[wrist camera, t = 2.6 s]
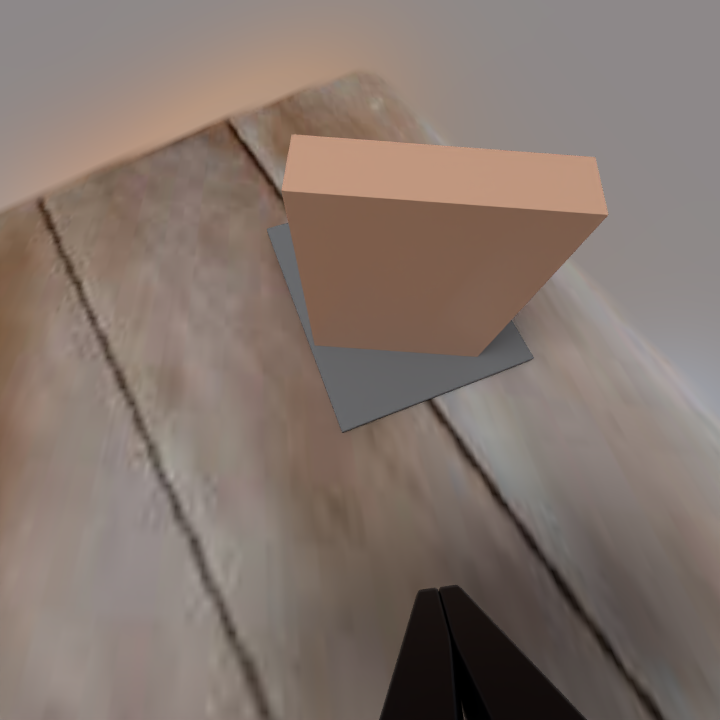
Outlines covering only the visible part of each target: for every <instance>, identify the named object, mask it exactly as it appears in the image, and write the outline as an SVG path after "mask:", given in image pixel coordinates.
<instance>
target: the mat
mask: <svg viewBox="0 0 720 720" xmlns="http://www.w3.org/2000/svg"><path fill="white" fill-rule="evenodd" d="M267 232H268V235H269V237H270V240H271V243H272V245H273V248H274V251H275V253H276V256H277V259H278V261H279V264H280V267H281V269H282V272H283V275H284V277H285V280H286V283H287V286H288V288H289V291H290V294H291V296H292V299H293V302H294V304H295V307H296V310H297V312H298V315H299V318H300V320H301V323H302V326H303V329H304V331H305V334H306V337H307V339H308V342H309V345H310V347H311V350H312V353H313V355H314V358H315V361H316V363H317V366H318V369H319V371H320V374H321V377H322V380H323V382H324V385H325V388H326V390H327V393H328V396H329V398H330V401H331V404H332V406H333V409H334V412H335V414H336V417H337V420H338V423H339V425H340V428H341V431H342V433H343V432H346V431H349V430H351V429H354V428H356V427H359V426H361V425H364V424H367V423H369V422H372V421H374V420H377V419H380V418H382V417H385V416H387V415H390V414H393V413H395V412H398V411H400V410H403V409H405V408H408V407H411V406H413V405H416V404H418V403H421V402H424V401H426V400H429V399H431V398H434V397H437V396H439V395H442V394H444V393H447V392H449V391H452V390H455V389H457V388H460V387H462V386H465V385H468V384H470V383H473V382H475V381H478V380H481V379H483V378H486V377H488V376H491V375H493V374H496V373H499V372H501V371H504V370H506V369H509V368H512V367H514V366H517V365H519V364H522V363H525V362H527V361H530V360H532V359H533V358H534V357H533V356H532V354H531V352H530V350H529V349H528V347H527V345H526V344H525V342H524V340H523V339H522V337H521V335H520V334H519V332H518V330H517V329H516V327H515V325H514V323H513V322H512V320H511V321H510V322H509V323H508V324H507V325H506V326H505V327H504V329H503V330H502V331H501V332H500V333H499V334H498V335H497V336H496V337H495V338H494V339H493V340H492V342H491V343H490V344H489V345H488V346H487V347H486V348H485V349H484V350H483V351H482V352H481V353H480V355H479V356H478V357H471V356H457V355H443V354H429V353H415V352H400V351H386V350H372V349H358V348H343V347H329V346H315V344H314V340H313V335H312V330H311V326H310V321H309V316H308V312H307V307H306V302H305V298H304V293H303V288H302V284H301V279H300V274H299V270H298V265H297V260H296V256H295V251H294V246H293V242H292V237H291V232H290V228H289V223H286V224H283V225H279V226H275V227H272V228H268V229H267Z"/></svg>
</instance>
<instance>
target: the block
mask: <svg viewBox="0 0 720 720" xmlns="http://www.w3.org/2000/svg"><path fill="white" fill-rule="evenodd" d="M282 195H283V200H284V204H285V209H286V214H287V218H288V223H289V228H290V232H291V237H292V242H293V246H294V251H295V256H296V260H297V265H298V270H299V274H300V279H301V284H302V288H303V293H304V298H305V302H306V307H307V312H308V316H309V321H310V326H311V330H312V335H313V340H314V344H315V346H329V347H343V348H358V349H372V350H386V351H400V352H415V353H429V354H443V355H457V356H471V357H478V356H479V355H480V353H481V352H482V351H483V350H484V349H485V348H486V347H487V346H488V345H489V344H490V343H491V342H492V340H493V339H494V338H495V337H496V336H497V335H498V334H499V333H500V332H501V331H502V330H503V329H504V327H505V326H506V325H507V324H508V323H509V322H510V321H511V320H512V319H513V318H514V317H515V316H516V314H517V313H518V312H519V311H520V310H521V309H522V308H523V307H524V306H525V305H526V304H527V303H528V301H529V300H530V299H531V298H532V297H533V296H534V295H535V294H536V293H537V292H538V291H539V290H540V288H541V287H542V286H543V285H544V284H545V283H546V282H547V281H548V280H549V279H550V278H551V277H552V275H553V274H554V273H555V272H556V271H557V270H558V269H559V268H560V267H561V266H562V265H563V264H564V262H565V261H566V260H567V259H568V258H569V257H570V256H571V255H572V254H573V253H574V252H575V251H576V249H577V248H578V247H579V246H580V245H581V244H582V243H583V242H584V241H585V240H586V239H587V238H588V237H589V235H590V234H591V233H592V232H593V231H594V230H595V229H596V228H597V227H598V226H599V225H600V223H601V222H602V221H603V220H604V219H605V218H606V217H607V216H608V211H607V206H606V202H605V198H604V193H603V189H602V184H601V180H600V176H599V171H598V167H597V163H596V158H595V157H585V156H572V155H558V154H545V153H532V152H519V151H506V150H492V149H478V148H466V147H452V146H439V145H426V144H412V143H399V142H386V141H372V140H359V139H346V138H333V137H319V136H306V135H293V134H292V136H291V142H290V147H289V153H288V158H287V164H286V169H285V175H284V180H283V186H282Z"/></svg>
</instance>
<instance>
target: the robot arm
mask: <svg viewBox="0 0 720 720" xmlns="http://www.w3.org/2000/svg"><path fill="white" fill-rule="evenodd" d="M462 709H463V711H462ZM463 713H464V717H465V720H587V719H586V718H585V717H584V716H583V715H582V714H581V713H580V712H579V711H578V710H577V709H576V708H575V707H574V706H573V705H572V704H571V703H570V701H569V700H568V699H567V698H566V697H565V696H564V695H563V694H562V693H561V692H560V691H559V690H558V689H557V688H556V687H555V686H554V685H553V684H552V683H551V682H550V681H549V679H548V678H547V677H546V676H545V675H544V674H543V673H542V672H541V671H540V670H539V669H538V668H537V667H536V666H535V665H534V664H533V663H532V662H531V661H530V660H529V658H528V657H527V656H526V655H525V654H524V653H523V652H522V651H521V650H520V649H519V648H518V647H517V646H516V645H515V644H514V643H513V642H512V641H511V640H510V639H509V638H508V636H507V635H506V634H505V633H504V632H503V631H502V630H501V629H500V628H499V627H498V626H497V625H496V624H495V623H494V622H493V621H492V620H491V619H490V618H489V617H488V616H487V614H486V613H485V612H484V611H483V610H482V609H481V608H480V607H479V606H478V605H477V604H476V603H475V602H474V601H473V600H472V599H471V598H470V597H469V596H468V595H467V593H466V592H465V591H464V590H463V589H462V588H461V587H460V586H458V585H451V586H444V587H440V589H439V591H438V589H436V588H430V589H423V590H419V591H418V593H417V595H416V599H415V602H414V605H413V609H412V612H411V615H410V619H409V622H408V625H407V629H406V632H405V635H404V639H403V642H402V645H401V649H400V652H399V655H398V659H397V662H396V665H395V669H394V672H393V675H392V679H391V682H390V685H389V689H388V692H387V695H386V699H385V702H384V705H383V709H382V712H381V715H380V719H379V720H464V717H463Z"/></svg>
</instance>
